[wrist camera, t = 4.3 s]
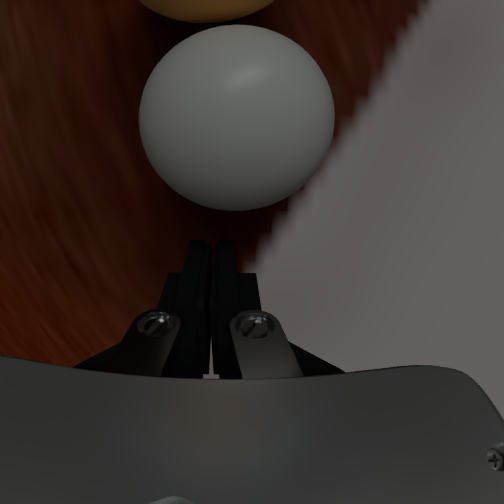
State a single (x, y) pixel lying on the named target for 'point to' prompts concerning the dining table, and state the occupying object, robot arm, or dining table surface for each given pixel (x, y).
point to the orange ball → (205, 9)
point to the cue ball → (236, 117)
